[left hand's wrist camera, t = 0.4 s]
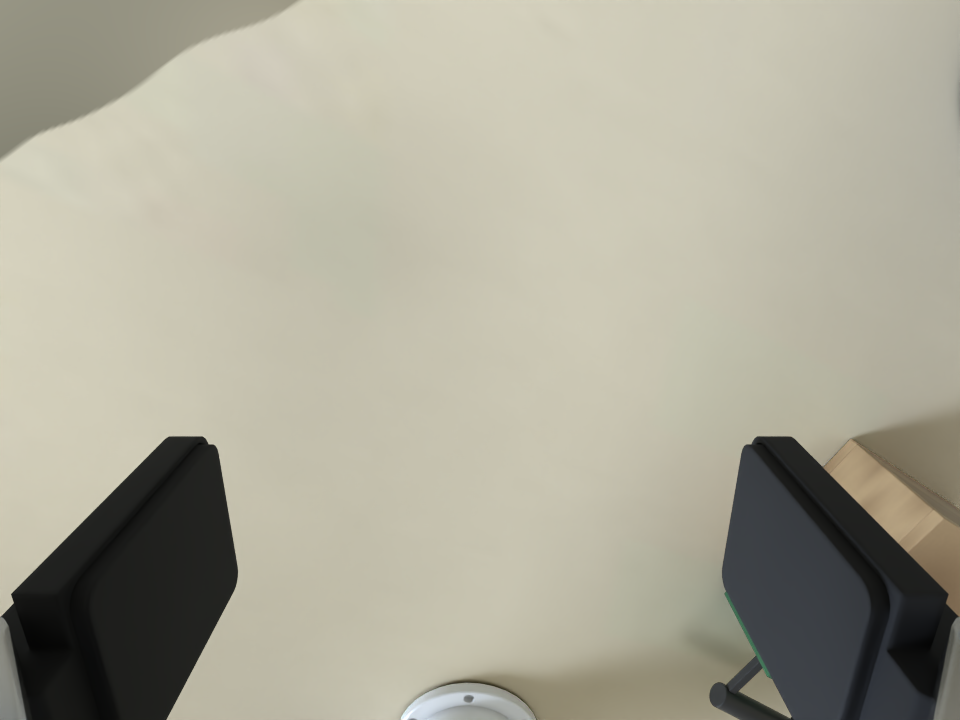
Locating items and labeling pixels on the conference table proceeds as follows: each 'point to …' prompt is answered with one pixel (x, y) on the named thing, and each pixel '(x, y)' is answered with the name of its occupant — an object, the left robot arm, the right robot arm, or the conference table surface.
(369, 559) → the conference table surface
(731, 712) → the drawer
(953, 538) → the pale wooden box
